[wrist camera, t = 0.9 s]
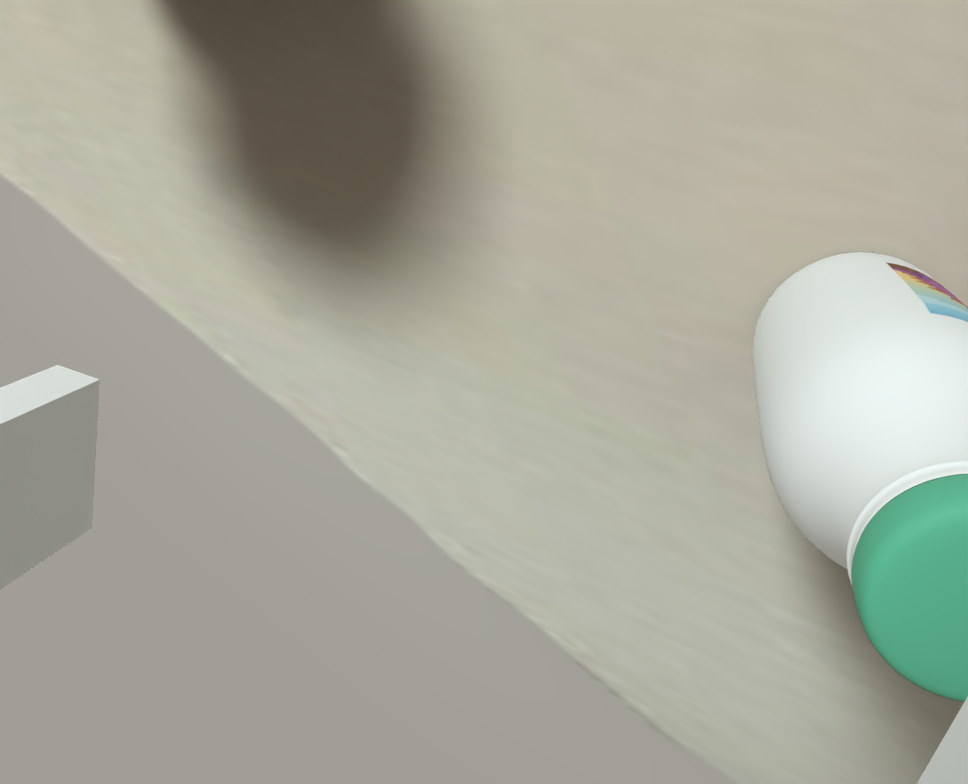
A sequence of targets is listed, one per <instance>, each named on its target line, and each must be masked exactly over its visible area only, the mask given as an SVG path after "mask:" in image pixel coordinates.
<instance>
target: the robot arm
mask: <svg viewBox="0 0 968 784" xmlns="http://www.w3.org/2000/svg"><path fill="white" fill-rule="evenodd" d="M98 397H99V379H96V378H93V377H90V376H87V375H85V374H82V373H79V372H76V371H73V370H71V369H68V368H65V367H61V366H59V365H57V366H54V367H51V368H49V369H46V370H44V371H41V372H39V373H36V374H34V375H31V376H29V377H26V378H24V379H21V380H19V381H16V382H14V383H11V384H9V385H6V386H4V387H1V388H0V589H1V588H3V587H4V586H6V585H7V584H9V583H10V582H12V581H13V580H15V579H16V578H18V577H19V576H21V575H22V574H23V573H25V572H27V571H28V570H30V569H31V568H33V567H34V566H36V565H37V564H39V563H40V562H41V561H43V560H45V559H46V558H47V557H49V556H51V555H52V554H53V553H55V552H56V551H58V550H59V549H61V548H62V547H64V546H65V545H67V544H68V543H70V542H71V541H73V540H74V539H76V538H77V537H79V536H80V535H82V534H83V533H85V532H86V531H88V530H89V529H91V528H92V514H93V495H94V476H95V475H94V474H95V456H96V436H97V418H98V399H99V398H98ZM917 784H968V697H967V698H966V700H965V702H964V704H963V705H962V707H961V709H960V710H959V712H958V714H957V716H956V717H955V719H954V721H953V722H952V724H951V726H950V728H949V729H948V731H947V733H946V734H945V736H944V738H943V740H942V741H941V743H940V745H939V747H938V748H937V750H936V752H935V753H934V755H933V757H932V759H931V760H930V762H929V764H928V765H927V767H926V769H925V771H924V772H923V774H922V776H921V777H920V779H919V781H918V783H917Z"/></svg>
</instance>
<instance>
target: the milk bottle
mask: <svg viewBox="0 0 968 784" xmlns="http://www.w3.org/2000/svg"><path fill="white" fill-rule="evenodd" d="M752 359H753V371H754V382H755V391H756V401H757V410H758V417H759V425H760V433H761V440H762V445H763V450H764V454H765V459H766V463H767V468H768V472H769V475H770V478H771V481H772V484H773V486H774V488H775V491H776V493H777V495H778V497H779V499H780V501H781V503H782V505H783V507H784V509H785V511H786V512H787V514H788V515H789V517H790V518H791V519H792V521H793V522H794V524H795V525H796V526H797V527H798V529H799V530H800V531H801V532H802V533H803V535H804V536H805V537H806V538H807V539H808V540H809V541H810V542H811V543H812V544H813V545H814V546H815V547H817V548H818V549H819V550H820V551H821V552H822V553H824V554H825V555H826V556H827V557H829V558H830V559H831V560H833V561H834V562H836V563H837V564H839V565H841V566H842V567H844V568H846V569H847V570H848V575H849V579H850V582H851V585H852V587H853V593H854V598H855V604H856V607H857V610H858V614H859V616H860V619H861V622H862V625H863V627H864V629H865V632H866V634H867V636H868V638H869V639H870V641H871V643H872V644H873V646H874V647H875V649H876V650H877V651H878V652H879V654H880V655H881V656H882V657H883V658H884V659H885V661H886V662H887V663H888V664H889V665H890V666H891V667H892V668H893V669H894V670H895V671H896V672H898V673H899V674H900V675H902V676H903V677H904V678H906V679H907V680H909V681H910V682H912V683H913V684H915V685H917V686H919V687H921V688H923V689H924V690H927V691H929V692H931V693H934V694H936V695H939V696H942V697H945V698H949V699H953V700H957V701H962V702H965V700H966V698H967V697H968V307H967V306H965V305H964V304H963V303H962V302H961V301H960V300H958V299H957V298H956V297H955V296H954V295H952V294H951V293H950V292H949V291H948V290H947V289H945V288H944V287H943V286H942V285H940V284H939V283H938V282H937V281H936V280H934V279H933V278H932V277H930V276H929V275H928V274H926V273H925V272H923V271H922V270H920V269H918V268H917V267H915V266H914V265H912V264H910V263H907V262H905V261H903V260H900V259H898V258H895V257H891V256H888V255H883V254H877V253H866V252H857V253H846V254H840V255H835V256H831V257H827V258H824V259H821V260H819V261H816V262H814V263H812V264H810V265H808V266H806V267H804V268H802V269H801V270H799V271H797V272H796V273H794V274H793V275H792V276H791V277H789V278H788V279H787V280H786V281H785V282H783V283H782V284H781V285H780V286H779V287H778V288H777V290H776V291H775V292H774V293H773V294H772V296H771V297H770V298H769V300H768V301H767V303H766V304H765V306H764V308H763V310H762V312H761V314H760V316H759V319H758V321H757V324H756V328H755V332H754V338H753V355H752Z"/></svg>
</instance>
